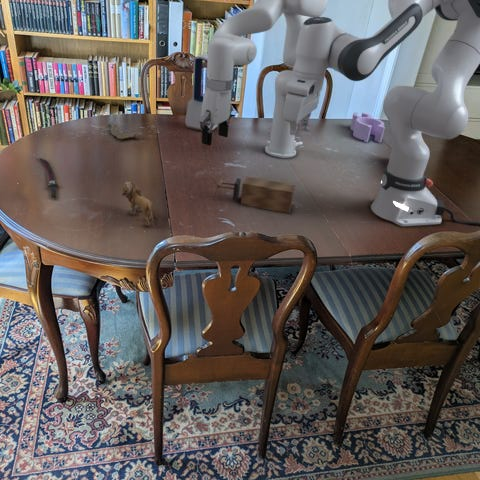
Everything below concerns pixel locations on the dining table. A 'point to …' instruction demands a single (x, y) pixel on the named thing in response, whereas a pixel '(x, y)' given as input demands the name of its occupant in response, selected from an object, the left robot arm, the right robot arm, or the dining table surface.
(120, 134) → the jawbone
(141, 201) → the lion figurine
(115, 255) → the dining table surface
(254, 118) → the dining table surface
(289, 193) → the cabinet
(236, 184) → the wooden handle frame
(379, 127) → the clip
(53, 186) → the sword
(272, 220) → the dining table surface
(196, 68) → the electronic device
